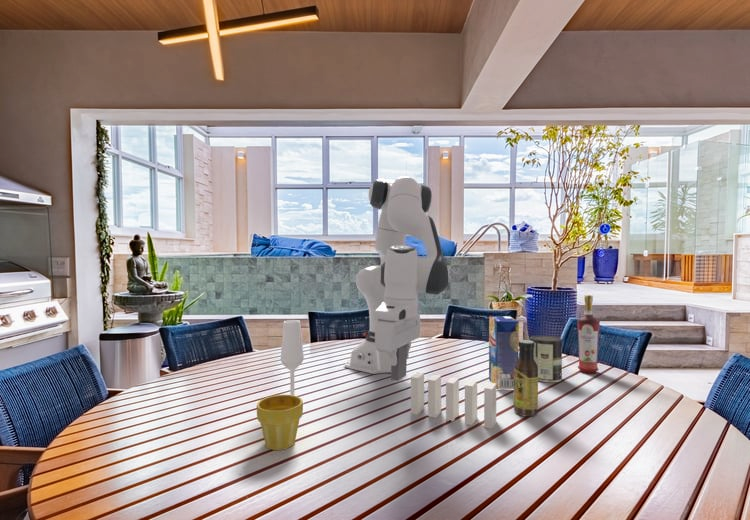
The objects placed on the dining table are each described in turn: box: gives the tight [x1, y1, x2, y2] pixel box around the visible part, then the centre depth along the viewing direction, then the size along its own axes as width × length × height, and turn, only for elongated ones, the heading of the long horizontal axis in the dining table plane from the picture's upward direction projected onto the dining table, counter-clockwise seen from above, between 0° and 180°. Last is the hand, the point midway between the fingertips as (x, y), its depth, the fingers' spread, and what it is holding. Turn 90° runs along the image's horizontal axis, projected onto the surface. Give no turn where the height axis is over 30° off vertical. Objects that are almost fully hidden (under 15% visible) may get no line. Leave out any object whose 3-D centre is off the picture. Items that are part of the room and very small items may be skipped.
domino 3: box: [427, 374, 442, 419], centre depth 114 cm, size 2×5×10 cm, turn 153°
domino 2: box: [410, 372, 425, 415], centre depth 116 cm, size 2×5×10 cm, turn 153°
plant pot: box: [256, 394, 304, 451], centre depth 96 cm, size 10×10×10 cm
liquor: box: [577, 294, 601, 375], centre depth 153 cm, size 7×7×28 cm
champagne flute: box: [280, 319, 305, 404], centre depth 122 cm, size 7×7×24 cm
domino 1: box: [390, 344, 408, 382], centre depth 108 cm, size 2×5×10 cm, turn 151°
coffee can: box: [529, 334, 563, 384], centre depth 145 cm, size 10×10×14 cm
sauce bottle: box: [513, 339, 539, 417], centre depth 114 cm, size 6×6×20 cm
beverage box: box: [488, 315, 520, 389], centre depth 138 cm, size 7×11×22 cm, turn 177°
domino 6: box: [483, 382, 497, 430], centre depth 107 cm, size 2×5×10 cm, turn 153°
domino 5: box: [464, 379, 478, 426], centre depth 109 cm, size 2×5×10 cm, turn 153°
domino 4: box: [445, 376, 460, 422], centre depth 112 cm, size 2×5×10 cm, turn 153°
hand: (399, 361), depth 108 cm, fingers closed on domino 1, 5 cm apart
